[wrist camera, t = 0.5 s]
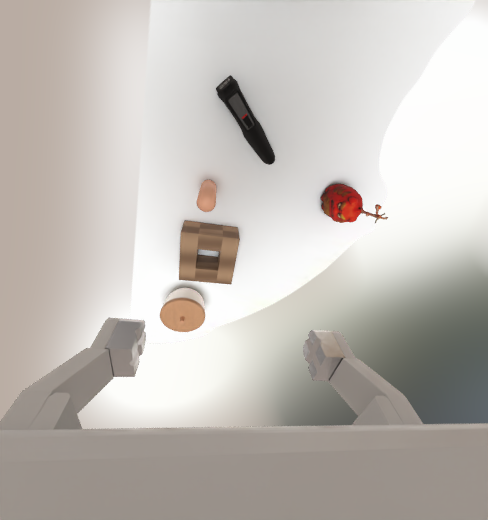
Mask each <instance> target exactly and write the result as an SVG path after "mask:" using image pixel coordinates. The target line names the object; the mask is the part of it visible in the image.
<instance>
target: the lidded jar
mask: <svg viewBox="0 0 488 520" xmlns="http://www.w3.org/2000/svg"><path fill="white" fill-rule="evenodd" d="M160 318H161V321H162V322H163V324H164V325H165V326H166V327H168V328H170V329H172V330H174V331H178V332H189V331H193V330H195V329H197V328H199V327H200V326H201V325H202V324H203V322H204V320H205V305H204V301H203V298H202V297H201V295H200V294H199V293H198V292H197V291H195V290H193V289H191V288H180V289H177V290H175V291H173V292H172V293H171V294H169V296H168V297H167V298H166V300H165V302H164V304H163V307H162V309H161V312H160Z"/></svg>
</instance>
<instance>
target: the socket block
mask: <svg viewBox="0 0 488 520" xmlns="http://www.w3.org/2000/svg"><path fill="white" fill-rule="evenodd" d="M239 240H240V238H239V232H238V227H231V226H223V225H215V224H208V223H200V222H192V221H184V224H183V227H182V230H181V242H180V265H179V280H188V281H199V282H210V283H222V284H231V282H232V277H233V272H234V266H235V261H236V256H237V250H238V245H239ZM198 249H202V250H211V251H219V255H218V257H213V256H204V255H198Z"/></svg>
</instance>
